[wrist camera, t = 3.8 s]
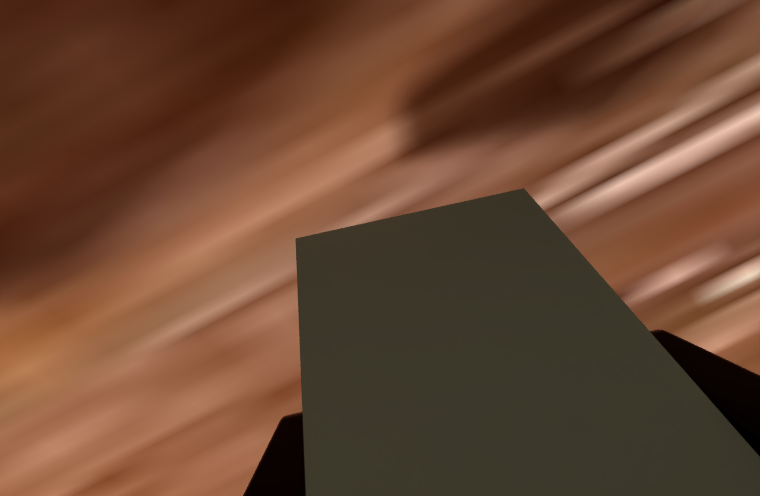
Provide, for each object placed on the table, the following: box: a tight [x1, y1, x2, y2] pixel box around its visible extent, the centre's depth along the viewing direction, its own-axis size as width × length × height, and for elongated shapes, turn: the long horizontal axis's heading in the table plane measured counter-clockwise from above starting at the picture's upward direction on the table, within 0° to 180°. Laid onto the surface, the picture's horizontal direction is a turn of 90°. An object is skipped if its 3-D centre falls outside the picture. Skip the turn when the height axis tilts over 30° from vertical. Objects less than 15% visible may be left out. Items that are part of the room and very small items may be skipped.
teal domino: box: [296, 188, 760, 496], centre depth 9 cm, size 2×5×8 cm, turn 99°
